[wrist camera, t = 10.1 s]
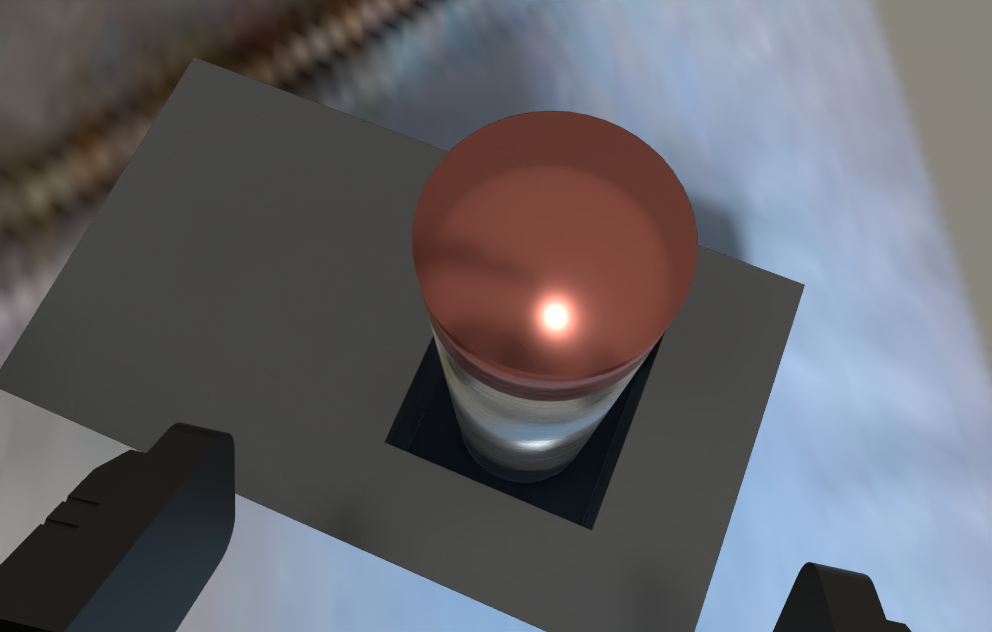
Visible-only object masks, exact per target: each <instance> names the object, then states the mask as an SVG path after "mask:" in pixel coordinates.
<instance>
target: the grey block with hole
mask: <svg viewBox="0 0 992 632" xmlns="http://www.w3.org/2000/svg"><path fill="white" fill-rule="evenodd" d="M448 153H449V152H447V151H444V150H442V149H439V148H436V147H434V146H431V145H428V144H426V143H423V142H420V141H418V140H415V139H412V138H410V137H407V136H404V135H402V134H399V133H396V132H393V131H391V130H388V129H385V128H383V127H380V126H377V125H375V124H372V123H369V122H367V121H364V120H361V119H359V118H356V117H353V116H351V115H348V114H345V113H343V112H340V111H337V110H334V109H332V108H329V107H326V106H324V105H321V104H318V103H316V102H313V101H310V100H308V99H305V98H302V97H300V96H297V95H294V94H292V93H289V92H286V91H284V90H281V89H278V88H275V87H273V86H270V85H267V84H265V83H262V82H259V81H257V80H254V79H251V78H249V77H246V76H243V75H241V74H238V73H235V72H233V71H230V70H227V69H225V68H222V67H219V66H216V65H214V64H211V63H208V62H206V61H203V60H200V59H198V58H195V57H194V58H193V60H192V62H191V63H190V65H189V66H188V68H187V70H186V71H185V73H184V74H183V76H182V78H181V79H180V81H179V82H178V84H177V86H176V87H175V89H174V91H173V92H172V94H171V95H170V97H169V99H168V100H167V102H166V103H165V105H164V107H163V108H162V110H161V111H160V113H159V115H158V116H157V118H156V119H155V121H154V123H153V124H152V126H151V128H150V129H149V131H148V132H147V134H146V136H145V137H144V139H143V140H142V142H141V144H140V145H139V147H138V148H137V150H136V152H135V153H134V155H133V156H132V158H131V160H130V161H129V163H128V165H127V166H126V168H125V169H124V171H123V173H122V174H121V176H120V177H119V179H118V181H117V182H116V184H115V185H114V187H113V189H112V190H111V192H110V193H109V195H108V197H107V198H106V200H105V202H104V203H103V205H102V206H101V208H100V210H99V211H98V213H97V214H96V216H95V218H94V219H93V221H92V222H91V224H90V226H89V227H88V229H87V230H86V232H85V234H84V235H83V237H82V239H81V240H80V242H79V243H78V245H77V247H76V248H75V250H74V251H73V253H72V255H71V256H70V258H69V259H68V261H67V263H66V264H65V266H64V267H63V269H62V271H61V272H60V274H59V276H58V277H57V279H56V280H55V282H54V284H53V285H52V287H51V288H50V290H49V292H48V293H47V295H46V296H45V298H44V300H43V301H42V303H41V304H40V306H39V308H38V309H37V311H36V313H35V314H34V316H33V317H32V319H31V321H30V322H29V324H28V325H27V327H26V329H25V330H24V332H23V333H22V335H21V337H20V338H19V340H18V341H17V343H16V345H15V346H14V348H13V350H12V351H11V353H10V354H9V356H8V358H7V359H6V361H5V362H4V364H3V366H2V367H1V369H0V389H1V390H4V391H6V392H8V393H10V394H13V395H15V396H17V397H19V398H22V399H24V400H26V401H28V402H31V403H33V404H35V405H37V406H40V407H42V408H44V409H46V410H49V411H51V412H53V413H55V414H58V415H60V416H62V417H64V418H67V419H69V420H71V421H73V422H76V423H78V424H80V425H82V426H85V427H87V428H89V429H91V430H94V431H96V432H98V433H100V434H103V435H105V436H107V437H109V438H112V439H114V440H116V441H118V442H121V443H123V444H125V445H127V446H130V447H132V448H134V449H136V450H139V451H141V452H143V453H147V452H148V451H149V450H150V449H151V447H152V446H153V445H154V444H155V443H156V442H157V441H158V440H159V439H160V438H161V436H162V435H163V434H164V433H165V432H166V431H167V430H168V429H169V428H170V427H171V426H172V425H174V424H175V423H178V422H179V423H185V424H190V425H194V426H199V427H204V428H208V429H213V430H217V431H222V432H226V433H230V434H231V435H232V437H233V439H234V446H235V493H236V494H238V495H240V496H242V497H245V498H247V499H249V500H251V501H254V502H256V503H258V504H260V505H263V506H265V507H267V508H269V509H272V510H274V511H276V512H278V513H281V514H283V515H285V516H287V517H290V518H292V519H294V520H296V521H299V522H301V523H303V524H305V525H308V526H310V527H312V528H314V529H317V530H319V531H321V532H323V533H326V534H328V535H330V536H332V537H335V538H337V539H339V540H341V541H344V542H346V543H348V544H350V545H353V546H355V547H357V548H359V549H362V550H364V551H366V552H368V553H371V554H373V555H375V556H377V557H380V558H382V559H384V560H386V561H389V562H391V563H393V564H395V565H398V566H400V567H402V568H404V569H407V570H409V571H411V572H413V573H416V574H418V575H420V576H422V577H425V578H427V579H429V580H431V581H434V582H436V583H438V584H440V585H443V586H445V587H447V588H449V589H452V590H454V591H456V592H458V593H461V594H463V595H465V596H467V597H470V598H472V599H474V600H476V601H479V602H481V603H483V604H485V605H488V606H490V607H492V608H494V609H497V610H499V611H501V612H503V613H506V614H508V615H510V616H512V617H515V618H517V619H519V620H521V621H524V622H526V623H528V624H530V625H533V626H535V627H537V628H539V629H542V630H544V631H546V632H694V631H695V628H696V625H697V622H698V619H699V616H700V613H701V609H702V606H703V603H704V600H705V597H706V594H707V591H708V587H709V584H710V581H711V578H712V575H713V572H714V569H715V566H716V562H717V559H718V556H719V553H720V550H721V547H722V544H723V540H724V537H725V534H726V531H727V528H728V525H729V522H730V518H731V515H732V512H733V509H734V506H735V503H736V500H737V496H738V493H739V490H740V487H741V484H742V481H743V478H744V474H745V471H746V468H747V465H748V462H749V459H750V456H751V452H752V449H753V446H754V443H755V440H756V437H757V434H758V430H759V427H760V424H761V421H762V418H763V415H764V412H765V408H766V405H767V402H768V399H769V396H770V393H771V390H772V386H773V383H774V380H775V377H776V374H777V371H778V368H779V364H780V361H781V358H782V355H783V352H784V349H785V346H786V342H787V339H788V336H789V333H790V330H791V327H792V324H793V320H794V317H795V314H796V311H797V308H798V305H799V302H800V298H801V295H802V292H803V289H804V286H805V285H804V284H801V283H798V282H796V281H793V280H790V279H788V278H785V277H782V276H780V275H777V274H774V273H772V272H769V271H766V270H764V269H761V268H758V267H756V266H753V265H750V264H747V263H745V262H742V261H739V260H737V259H734V258H731V257H729V256H726V255H723V254H721V253H718V252H715V251H713V250H710V249H707V248H705V247H702V246H699V245H698V254H697V262H696V269H695V273H694V277H693V280H692V284H691V287H690V290H689V292H688V294H687V296H686V299H685V301H684V303H683V305H682V306H681V308H680V310H679V311H678V313H677V314H676V316H675V317H674V319H673V320H672V322H671V323H670V325H669V326H668V328H667V329H666V330H665V332H664V333H663V335H662V336H661V337H660V339H659V340H658V342H657V343H656V345H655V346H654V347H653V349H652V350H651V352H650V353H649V354H648V356H647V357H646V359H645V360H644V362H643V363H642V364H641V366H640V367H639V370H638V373H637V375H636V378H635V381H634V383H633V386H632V389H631V391H630V394H629V397H628V399H627V402H626V405H625V407H624V410H623V413H622V416H621V418H620V421H619V424H618V426H617V429H616V432H615V434H614V437H613V440H612V442H611V445H610V448H609V450H608V453H607V456H606V458H605V461H604V464H603V467H602V469H601V472H600V475H599V477H598V480H597V483H596V485H595V488H594V491H593V493H592V496H591V499H590V501H589V504H588V507H587V509H586V512H585V515H584V518H583V520H582V523H581V526H580V525H578V524H575V523H573V522H571V521H568V520H566V519H563V518H561V517H559V516H556V515H554V514H552V513H549V512H547V511H545V510H542V509H540V508H538V507H535V506H533V505H531V504H528V503H526V502H523V501H521V500H519V499H516V498H514V497H512V496H509V495H507V494H505V493H502V492H500V491H498V490H495V489H493V488H491V487H488V486H486V485H483V484H481V483H479V482H476V481H474V480H472V479H469V478H467V477H465V476H462V475H460V474H458V473H455V472H453V471H451V470H448V469H446V468H443V467H441V466H439V465H436V464H434V463H432V462H429V461H427V460H425V459H422V458H420V457H418V456H415V455H413V454H410V453H408V450H409V448H410V445H411V443H412V441H413V439H414V437H415V434H416V432H417V430H418V428H419V425H420V423H421V421H422V419H423V416H424V414H425V412H426V410H427V408H428V405H429V403H430V401H431V399H432V396H433V394H434V392H435V390H436V387H437V385H438V383H439V381H440V379H441V376H442V374H443V372H444V371H443V367H442V364H441V360H440V356H439V353H438V349H437V346H436V342H435V338H434V335H433V331H432V328H431V324H430V321H429V317H428V313H427V310H426V306H425V303H424V299H423V295H422V292H421V288H420V285H419V281H418V277H417V274H416V270H415V265H414V259H413V253H412V229H413V220H414V215H415V211H416V207H417V204H418V200H419V198H420V196H421V193H422V191H423V188H424V186H425V184H426V182H427V181H428V179H429V177H430V176H431V174H432V172H433V171H434V169H435V168H436V167H437V165H438V164H439V163H440V162H441V160H442V159H443V158H444V157H445V156H446V155H447V154H448Z"/></svg>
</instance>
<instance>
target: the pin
mask: <svg viewBox="0 0 992 632" xmlns="http://www.w3.org/2000/svg"><path fill="white" fill-rule="evenodd" d="M412 253H413V259H414V265H415V270H416V274H417V277H418V281H419V285H420V288H421V292H422V295H423V299H424V303H425V306H426V310H427V313H428V317H429V321H430V324H431V328H432V331H433V335H434V338H435V342H436V346H437V349H438V353H439V356H440V360H441V364H442V367H443V371H444V374H445V378H446V382H447V385H448V389H449V392H450V396H451V399H452V403H453V407H454V410H455V414H456V417H457V421H458V425H459V428H460V432H461V435H462V438H463V441H464V444H465V446H466V448H467V450H468V451H469V453H470V454H471V456H472V457H473V459H474V460H475V461H476V462H477V463H478V464H479V465H480V466H481V467H482V468H483V469H485V470H486V471H488V472H489V473H490V474H492V475H494V476H496V477H498V478H501V479H504V480H506V481H511V482H516V483H533V482H538V481H542V480H545V479H548V478H551V477H553V476H554V475H556V474H558V473H560V472H561V471H563V470H564V469H565V468H566V467H567V466H568V465H570V464H571V463H572V461H573V460H574V459H575V458H576V457H577V455H578V454H579V452H580V451H581V449H582V448H583V447H584V445H585V444H586V442H587V441H588V440H589V438H590V437H591V435H592V434H593V432H594V431H595V430H596V428H597V427H598V425H599V424H600V422H601V421H602V420H603V418H604V417H605V415H606V414H607V413H608V411H609V410H610V408H611V407H612V405H613V404H614V403H615V401H616V400H617V398H618V397H619V396H620V394H621V393H622V391H623V390H624V388H625V387H626V386H627V384H628V383H629V381H630V380H631V379H632V377H633V376H634V374H635V373H636V371H637V370H638V369H639V367H640V366H641V364H642V363H643V362H644V360H645V359H646V357H647V356H648V354H649V353H650V352H651V350H652V349H653V347H654V346H655V345H656V343H657V342H658V340H659V339H660V337H661V336H662V335H663V333H664V332H665V330H666V329H667V328H668V326H669V325H670V323H671V322H672V320H673V319H674V317H675V316H676V314H677V313H678V311H679V310H680V308H681V306H682V305H683V303H684V301H685V299H686V296H687V294H688V292H689V290H690V287H691V284H692V280H693V277H694V273H695V269H696V262H697V254H698V240H697V230H696V223H695V218H694V214H693V211H692V207H691V204H690V201H689V199H688V197H687V195H686V192H685V190H684V188H683V186H682V184H681V183H680V181H679V180H678V178H677V176H676V175H675V173H674V172H673V170H672V169H671V168H670V167H669V165H668V164H667V163H666V162H665V161H664V159H663V158H662V157H661V156H660V155H659V154H658V153H657V152H656V151H655V150H653V149H652V148H651V147H650V146H649V145H648V144H646V143H645V142H644V141H642V140H641V139H640V138H638V137H637V136H636V135H634V134H632V133H630V132H629V131H627V130H625V129H623V128H622V127H620V126H617V125H615V124H613V123H610V122H608V121H606V120H603V119H599V118H596V117H593V116H589V115H585V114H579V113H573V112H564V111H540V112H530V113H524V114H519V115H515V116H511V117H508V118H505V119H501V120H498V121H496V122H494V123H492V124H489V125H487V126H485V127H483V128H481V129H479V130H478V131H476V132H474V133H473V134H471V135H469V136H468V137H466V138H465V139H464V140H463V141H461V142H460V143H459V144H457V145H456V146H455V147H454V148H453V149H452V150H451V151H450V152H449V153H448V154H447V155H446V156H445V157H444V158H443V159H442V160H441V162H440V163H439V164H438V165H437V167H436V168H435V169H434V171H433V172H432V174H431V176H430V177H429V179H428V181H427V182H426V184H425V186H424V188H423V191H422V193H421V196H420V198H419V200H418V204H417V207H416V211H415V215H414V220H413V229H412Z"/></svg>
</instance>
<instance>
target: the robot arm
mask: <svg viewBox="0 0 992 632" xmlns="http://www.w3.org/2000/svg"><path fill="white" fill-rule="evenodd" d="M234 522H235V446H234V439H233V437H232V435H231V434H230V433H226V432H222V431H217V430H213V429H208V428H204V427H199V426H194V425H190V424H185V423H179V422H178V423H175V424H174V425H172V426H171V427H170V428H169V429H168V430H167V431H166V432H165V433H164V434H163V435H162V436H161V438H160V439H159V440H158V441H157V442H156V443H155V444H154V445H153V446H152V447H151V449H150V450H149V451H148V452H147V453H143V452H139V451H134V450H129V451H127V452H125V453H123V454H121V455H119V456H118V457H116V458H114V459H112V460H110V461H108V462H107V463H105V464H103V465H101V466H99V467H97V468H95V469H94V470H93V471H92V472H91V473H90V474H89V475H88V476H87V477H86V478H85V479H84V480H83V481H82V482H81V483H80V484H79V485H78V486H77V487H76V488H75V489H74V490H73V491H72V492H71V493H70V494H69V495H68V498H67V500H66V502H63V501H62V502H61V503H60V504H59V505H58V506H57V507H56V508H55V510H54V511H53V512H52V513H51V514H50V515H49V516H48V517H47V518H46V521H45V523H44V524H43V525H42V524H40V525H39V526H38V527H37V528H36V529H35V530H34V531H33V532H32V533H31V534H30V535H29V536H28V537H27V538H26V539H25V540H24V541H23V542H22V543H21V544H20V545H19V546H18V547H17V548H16V549H15V550H14V551H13V552H12V553H11V554H10V556H9V557H8V558H7V559H6V560H5V561H4V562H3V563H2V564H1V565H0V632H176V630H177V629H178V627H179V625H180V624H181V622H182V621H183V619H184V618H185V616H186V615H187V613H188V611H189V610H190V608H191V607H192V605H193V604H194V602H195V601H196V599H197V597H198V596H199V594H200V593H201V591H202V590H203V588H204V586H205V585H206V583H207V582H208V580H209V579H210V577H211V576H212V574H213V572H214V571H215V569H216V568H217V566H218V565H219V563H220V561H221V560H222V558H223V556H224V554H225V552H226V550H227V547H228V545H229V542H230V539H231V536H232V532H233V528H234ZM773 632H911V630H910V629H909V628H908V627H907V626H906V624H903V623H898V622H894V621H889V620H886V617H885V614H884V612H883V609H882V606H881V603H880V601H879V598H878V595H877V592H876V589H875V587H874V584H873V582H872V580H871V579H870V577H868V576H867V575H865V574H862V573H857V572H853V571H848V570H844V569H839V568H835V567H830V566H825V565H821V564H816V563H812V562H808V563H806V564H805V565H804V566H803V567H802V568H801V570H800V572H799V574H798V576H797V578H796V581H795V583H794V585H793V587H792V590H791V592H790V594H789V596H788V599H787V601H786V603H785V605H784V608H783V610H782V612H781V614H780V617H779V619H778V621H777V623H776V626H775V628H774V630H773Z"/></svg>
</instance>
